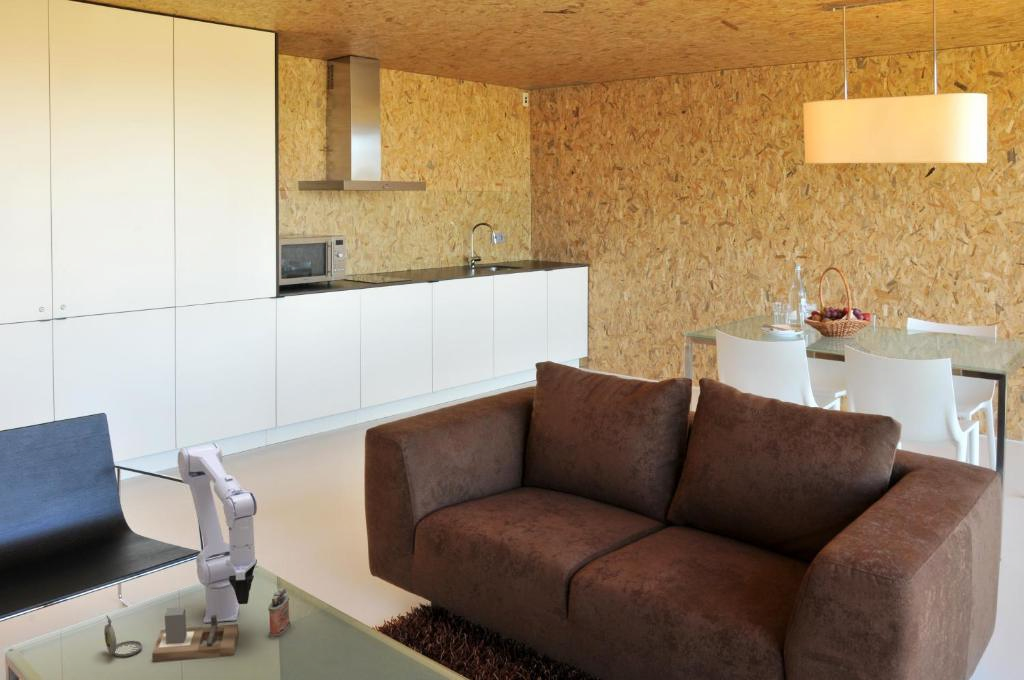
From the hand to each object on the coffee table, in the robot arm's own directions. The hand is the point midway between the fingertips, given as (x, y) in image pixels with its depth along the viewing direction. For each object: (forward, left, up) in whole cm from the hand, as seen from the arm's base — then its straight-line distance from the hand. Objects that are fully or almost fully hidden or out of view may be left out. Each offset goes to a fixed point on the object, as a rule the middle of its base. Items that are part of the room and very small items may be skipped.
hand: (244, 596), depth 231 cm
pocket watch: (+3, -28, -11) cm, 30 cm away
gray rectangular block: (+3, -16, -8) cm, 18 cm away
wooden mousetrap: (+3, -11, -10) cm, 16 cm away
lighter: (-2, +8, -11) cm, 13 cm away
